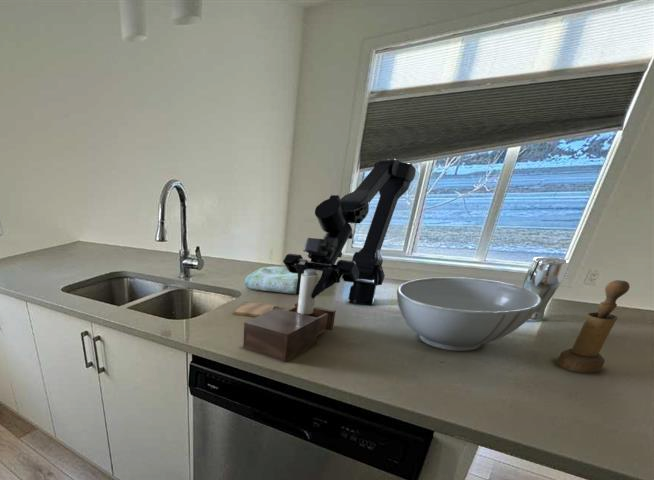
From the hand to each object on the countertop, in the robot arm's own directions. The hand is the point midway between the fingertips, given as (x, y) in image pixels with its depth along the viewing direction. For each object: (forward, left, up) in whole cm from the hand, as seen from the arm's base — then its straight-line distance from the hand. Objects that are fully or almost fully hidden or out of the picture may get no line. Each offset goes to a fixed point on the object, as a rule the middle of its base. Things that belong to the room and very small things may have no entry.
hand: (304, 295), depth 104 cm
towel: (+19, -43, -11) cm, 48 cm away
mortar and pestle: (-55, -4, -11) cm, 57 cm away
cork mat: (+18, -14, -11) cm, 25 cm away
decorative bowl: (-33, -10, -11) cm, 37 cm away
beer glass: (-50, -33, -11) cm, 61 cm away
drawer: (0, -1, -10) cm, 10 cm away
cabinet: (+3, +9, -11) cm, 14 cm away
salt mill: (0, -1, -5) cm, 5 cm away
